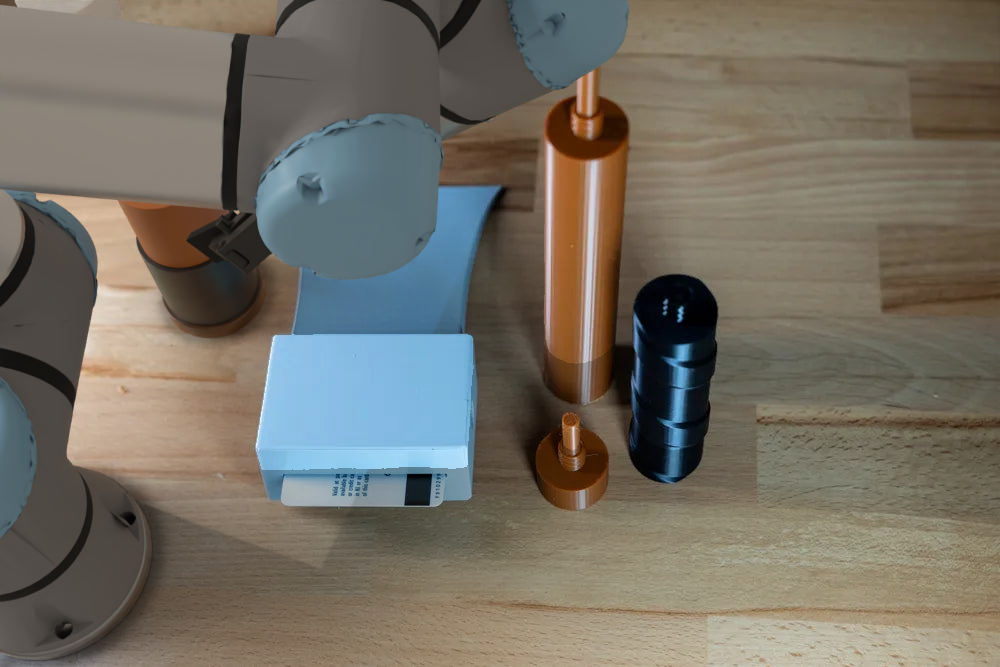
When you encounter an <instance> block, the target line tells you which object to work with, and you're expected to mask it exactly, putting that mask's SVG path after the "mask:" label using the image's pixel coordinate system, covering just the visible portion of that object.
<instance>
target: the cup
mask: <svg viewBox="0 0 1000 667" xmlns="http://www.w3.org/2000/svg"><path fill="white" fill-rule="evenodd" d="M14 3H15V5H16V7H21V8H29V9H37V10H45V11H53V12H62V13H70V14H78V15H86V16H94V17H102V18H110V19H118V20H124V18H123V15H122V10H121V5H120V1H119V0H14Z"/></svg>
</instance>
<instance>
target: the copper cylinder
mask: <svg viewBox="0 0 1000 667" xmlns="http://www.w3.org/2000/svg"><path fill="white" fill-rule="evenodd" d="M117 202H118V204H119V205H120V208H121V209H122V212H123V213H124V215H125V217H126V219H127V221H128V223H129V225H130V227H131V229H132V230H133V232H134V234H135V237H136V236H137V238H138V240H139V242H140V244H141V246H142V248H143V249H144V251H145V253H146V254H147V255H148V256H149V257H150V258H151V259H152V260H153V261H155V262H157V263H159V264H161V265H164V266H167V267H173V268H185V267H191V266H195V265H198V264H201V263H203V262H205V261H207V260H209V259H210V258H208V257H207V256H206V255H204V254H203V253H202V252H200V251H199V250H198V249H196V248H195V247H194V246H192V245H191V244H189V243H188V242H187V241H186V240H187V238H188V237H189V235H190V233H191V232H193V231H195V230H197V229H199V228H201V227H203V226H205V225H207V224H209V223H211V222H213V221H215V220H217V219H219V217H220V216H221V215H226V214H228V213H230V212H229V210H221V209H210V208H199V207H188V206H177V205H165V204H154V203H143V202H132V201H121V200H117Z"/></svg>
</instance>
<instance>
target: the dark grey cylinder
mask: <svg viewBox="0 0 1000 667" xmlns="http://www.w3.org/2000/svg"><path fill="white" fill-rule="evenodd" d="M232 211H234V210H229V212H232ZM234 212H235V211H234ZM135 237H136V238H135V242H136V247H137V250H138V252H139V255H140V256H141V258H142V260H143V262H144V264H145V266H146V268H147V270H148V272H149V273H150V276H151V278H152V279H153V281H154V283H155V284H156V286H157V288H158V291H159V292H160V294H161V297H162V298H161V299H162V303H163V307H164V308H165V310H166V312H167V314H168V316H169V318H170V320H171V321H172V322H173V324H174V325H175V326H176V327H177V328H179V329H180V330H181V331H182V332H184V333H186V334H189V335H191V336H194V337H198V338H205V339H212V338H221V337H226V336H228V335H231V334H233V333H236V332H238V331H240V330H241V329H243V328H244V327H246V326H247V325H249V324H250V323H251V322H252V321H253V320H254V319H255V317H256V316H257V315H258V314H259V312H260V311H261V309H262V307H263V305H264V303H265V299H266V296H267V295H266V294H267V285H266V284H267V283H266V279H265V277H264V274H263V272H262V268H261V266H260V264H259V265H258V266H257V267H255V268H254V269H253V270H252V271H251V272H249V273H248V274H246V273H244V272H243V271H242V270H240V269H239V268H237V267H236V266H235V265H233V264H232V263H231V262H229V261H228V260H223V261H221V262H219V263H217V264H216V263H215V262H214V261H212V260H211V259H209V260H207V261H205V262H203V263H201V264H198V265H195V266H191V267H185V268H173V267H167V266H164V265H161V264H159V263H157V262H155V261H153V260H152V259H151V258H150V257H149V256H148V255H147V254H146V253H145V251H144V249H143V248H142V246H141V244H140V242H139V240H138V238H137V236H136V235H135Z"/></svg>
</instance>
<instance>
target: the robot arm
mask: <svg viewBox="0 0 1000 667" xmlns="http://www.w3.org/2000/svg"><path fill="white" fill-rule="evenodd" d="M629 1H630V0H277V6H276V7H277V8H276V16H275V17H276V18H275V29H274V36H270V35H261V34H249V33H241V32H235V33H230V32H224V31H222V32H221V31H215V30H206V29H200V28H199V29H198V28H189V27H181V26H175V25H166V24H157V23H150V22H141V21H134V20H127V19H123V20H118V19H110V18H102V17H94V16H86V15H78V14H70V13H62V12H53V11H45V10H37V9H29V8H21V7H17V6H13V5H4V4H0V654H2V655H4V656H7V657H10V658H14V659H18V660H26V661H44V660H45V661H46V660H52V659H58V658H62V657H66V656H69V655H72V654H74V653H78V652H79V651H82V650H84V649H86V648H88V647H90V646H91V645H93V644H95V643H96V642H98V641H100V640H101V639H103V638H104V637H105V636H106V635H108V634H109V633H110V632H111V631H112V630H113V629H115V628H116V627H117V626H118V625H119V624H120V623H121V622H122V621H123V620H124V618H125V617H126V616H128V614H129V612H130V611H131V610H132V609H133V607H134V605H135V604H136V603H137V600H138V599H139V597H140V596H141V593H142V591H143V589H144V587H145V585H146V582H147V579H148V576H149V574H150V573H149V572H150V569H151V565H152V564H151V563H152V555H153V546H152V545H153V541H152V535H151V530H150V525H149V523H148V521H147V517H146V516H145V514H144V512H143V510H142V509H141V507H140V505H139V504H138V503H137V501H136V500H135V499H134V498H133V497H132V495H131V494H130V493H129V492H128V491H127V489H126V488H124V487H123V486H122V485H121V484H120V483H119V482H118V481H116V480H115V479H114V478H111V477H109V475H106V474H105V473H102V472H99V471H96V470H92V469H90V468H85V467H82V466H78V465H75V464H73V463H72V462H71V460H70V459H69V457H68V445H69V439H70V433H71V428H72V422H73V416H74V411H75V410H74V409H75V404H76V399H77V395H78V387H79V382H80V377H81V371H82V368H83V363H84V357H85V352H86V346H87V343H88V342H87V341H88V337H89V332H90V326H91V322H92V316H93V312H94V307H95V306H96V302H97V298H98V287H99V285H98V284H99V283H98V276H97V275H98V267H99V266H98V265H99V264H98V263H99V260H98V252H97V249H96V245H95V242H94V241H93V239H92V236H91V235H90V233H89V232H88V230H87V229H86V227H85V226H84V225H83V224H82V222H81V221H80V220H79V219H78V218H77V217H76V216H75V215H74V214H73V213H72V212H70V211H69V210H67V209H66V208H65V207H63V205H61V204H59V203H57V202H56V201H54V200H52V199H48V200H45V201H41V200H39V199H38V198H37V194H47V195H57V196H67V197H76V198H77V197H78V198H89V199H100V200H102V199H103V200H111V201H118V200H121V201H132V202H143V203H154V204H165V205H177V206H188V207H199V208H210V209H221V210H234V211H232V212H230V213H228V214H226V215H221V216H220V217H219V219H217V220H215V221H213V222H211V223H209V224H207V225H205V226H203V227H201V228H199V229H197V230H195V231H193V232H191V233H190V235H189V237H188V238H187V240H186V241H187V242H188V243H189V244H191V245H192V246H194V247H195V248H196V249H198V250H199V251H200V252H202V253H203V254H204V255H206V256H207V257H208V258H210V259H211V260H212V261H214V262H215V263H216V264H217V263H219V262H221V261H223V260H228V261H229V262H231V263H232V264H233V265H235V266H236V267H237V268H239V269H240V270H242V271H243V272H244V273H246V274H248V273H249V272H251V271H252V270H253V269H254V268H255V267H257V266H258V265H259V266H260V264H262V263H263V262H264V261H265V260H266V259H267V258H269V256H272V254H273V255H274V256H275V257H276V258H277V259H278V260H280V261H281V262H282V263H284V264H286V265H287V266H288V267H292V268H307V269H309V270H311V272H312V274H313V275H314V276H317V277H320V278H324V279H328V280H329V279H330V280H337V281H339V280H341V281H355V280H356V281H357V280H365V279H371V278H376V277H380V276H383V275H388V274H389V273H392V272H393V273H394V271H397V270H399V269H401V268H403V267H405V266H406V265H407V264H409V263H411V262H412V261H413V260H415V258H417V257H418V256H420V254H421V253H422V252H423V251H424V249H425V248H426V247H427V246H428V244H429V243H430V239H431V237H432V235H433V234H434V233H435V232H436V228H437V220H438V204H439V187H440V173H441V172H442V169H443V166H444V159H445V151H444V149H443V143H442V142H444V141H446V140H448V139H451V138H453V137H455V136H457V135H459V134H461V133H463V132H465V131H467V130H470V129H472V128H474V127H476V126H478V125H480V124H482V123H492V122H494V121H495V119H496V117H497V116H499V115H501V114H504V113H506V112H508V111H511V110H513V109H515V108H517V107H520V106H522V105H524V104H526V103H529V102H531V101H533V100H536V99H538V98H540V97H543V96H545V95H547V94H549V93H552V92H554V91H560V90H565V89H567V88H568V87H570V86H571V85H572V84H573V83H575V82H577V80H579V79H581V78H582V77H585V76H586V75H588V74H589V73H591V72H593V71H594V70H597V69H598V68H600V67H601V66H602V65H604V64H606V63H607V62H608V61H609V60H611V59H612V58H613V57H614V56H615V55H616V53H617V52H618V51H619V50H620V48H621V47H622V45H623V43H624V41H625V38H626V35H627V30H628V26H629V24H628V23H629V15H630V2H629ZM235 211H236V212H235ZM237 211H238V213H237Z"/></svg>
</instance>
